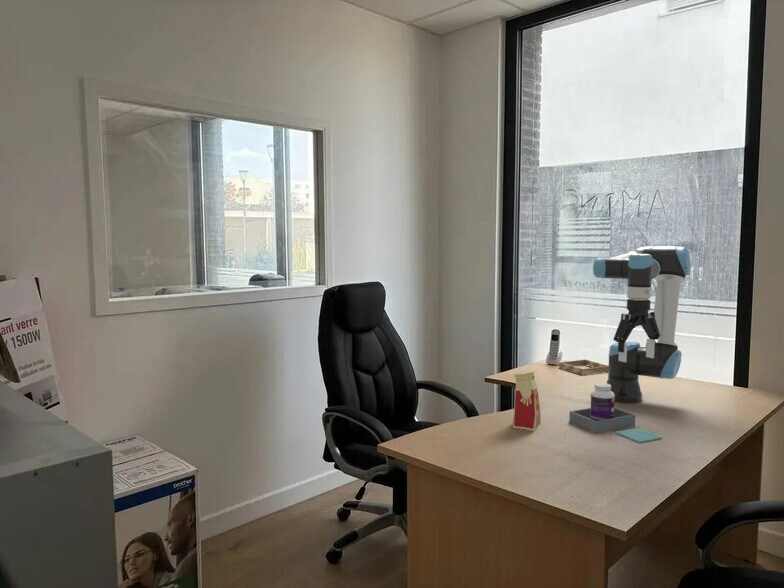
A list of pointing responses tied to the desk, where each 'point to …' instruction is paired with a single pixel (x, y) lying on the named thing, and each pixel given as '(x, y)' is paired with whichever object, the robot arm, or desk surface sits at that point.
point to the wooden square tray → (571, 367)
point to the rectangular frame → (618, 422)
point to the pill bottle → (602, 402)
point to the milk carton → (526, 403)
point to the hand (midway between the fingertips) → (636, 359)
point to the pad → (639, 435)
